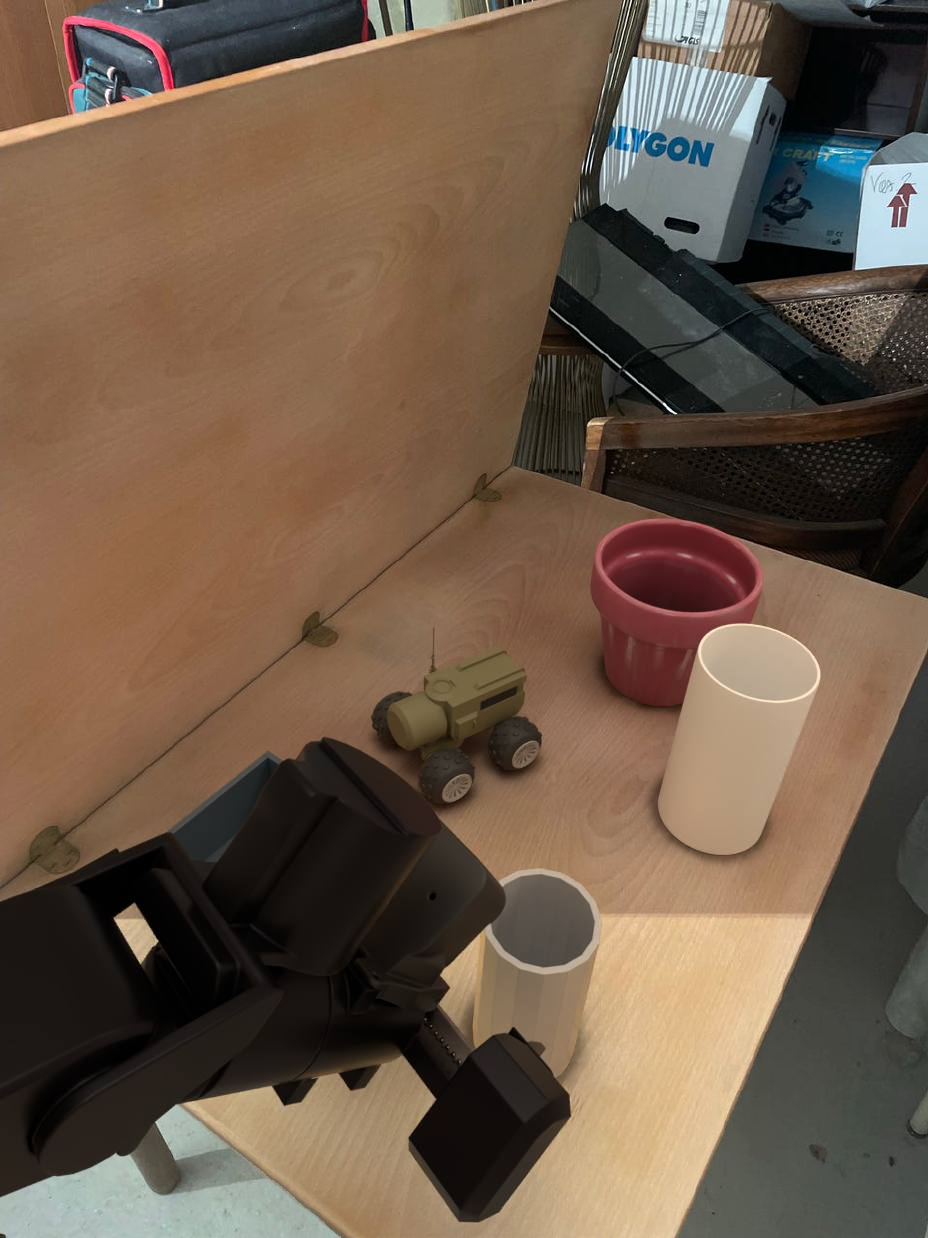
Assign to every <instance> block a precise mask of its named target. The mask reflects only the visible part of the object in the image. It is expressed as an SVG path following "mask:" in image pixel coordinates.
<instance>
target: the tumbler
mask: <svg viewBox="0 0 928 1238" xmlns="http://www.w3.org/2000/svg"><path fill="white" fill-rule="evenodd" d="M498 882H499V883H500V884H501V886H502V887H503V889H504V891H505V895H506V903H505V907H504V909H503V911H502V913H501V914H500V915H499V917H498V918H497V919H496V920H495V921H494V922H493V923H491V924H489V925H488V926H487V927H486V928H485V929H484V930H483V931H482V932H481V933H480V934H479V944H478V956H477V966H476V967H477V968H476V979H475V980H476V981H475V991H474V1004H473V1005H474V1006H473V1017H472V1028H471V1029H472V1039H473V1040H472V1041H473V1047H474V1048H475V1049H476V1048H478V1047H479V1046H480V1045H481V1044H482V1043H484V1042H485V1041H486V1040H487V1039H489V1038H490V1037H491V1036H492V1035H495V1034H500V1033H507V1034H508V1033H509V1031H510V1030H511V1028H512V1027H515V1028H516V1029H517V1031H518V1032H519V1033H520V1034H521V1035H522V1036H523V1037H524V1039H525V1040H526V1041H527V1042H529V1041H535V1042H541V1043H542V1044H543V1045H544V1046H545V1048H546V1049H545V1051H544V1052H543V1053H542V1055H541V1056H540V1057H541V1058H542V1059H543V1061H544V1062H545V1063H546V1064H547V1065H548V1066H549V1068H550V1069H551V1070H552V1072H553V1074H554V1077H555V1078H556V1079H558V1078H559V1076H561V1074H563V1073H564V1071H565V1070H566V1069H567V1068H568V1066H569V1064H570V1063H571V1060H572V1057H573V1055H574V1053H575V1048H576V1046H577V1045H576V1044H577V1040H578V1035H579V1032H580V1027H581V1023H582V1020H583V1015H584V1010H585V1006H586V1002H587V998H588V994H589V988H590V985H591V982H592V981H591V980H592V976H593V972H594V967H595V964H596V959H597V955H598V952H599V951H598V950H599V946H600V941H601V935H602V926H603V920H602V917H601V913H600V910H599V907H598V904H597V902H596V899H594V898H593V896H592V895H591V894H590V893H589V891H588V890H587V889H586V888H585V886H584V885H583V884H581V883H580V882H578V881H577V880H575V879H573V878H572V877H570V876H568V875H567V874H566V873H564V872H560V871H556V870H551V869H547V868H542V867H536V868H528V869H520V870H516V871H514V872H513V873H511V874H509V875H507V876H505V877H503V878H500V879H499V880H498Z"/></svg>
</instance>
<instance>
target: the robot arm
mask: <svg viewBox="0 0 928 1238" xmlns="http://www.w3.org/2000/svg"><path fill="white" fill-rule="evenodd" d="M505 903H506V895H505V891H504V889H503V887H502V886H501V884H500V883H499V880H498V879H497V878H496V877H495V876H494V875H493V873H491V871H490V870H489V869H488V868H487V867H486V866H485V864H484V863H483V862H482V861H481V859H480V858H479V857H478V856H477V855H476V854H474V852H473V851H472V850H470V849H469V847H467V846H466V844H465V843H464V842H463V841H462V840H460V838H459V837H458V836H457V835H456V834H455V833H454V832H453V831H452V830H451V829H450V828H449V827H448V826H447V825H446V824H445V823H444V822H443V821H442V820H441V819H440V818H439V816H438V814H437V813H436V811H435V809H434V808H433V807H432V805H430V803H429V802H428V801H427V800H426V798H425V797H424V796H422V794H421V793H419V791H418V790H417V789H416V788H415V787H414V786H413V785H411V784H410V783H409V782H407V781H406V779H404V778H403V777H402V776H400V775H399V774H398V773H397V772H395V771H394V770H392V768H390V767H389V766H386V765H385V764H383V763H382V762H381V761H379V760H378V759H376V758H375V757H373V756H371V755H369V754H367V753H366V752H364V751H362V750H360V749H358V748H357V747H354V746H352V745H350V744H348V743H345V742H343V741H340V740H338V739H335V738H331V737H327V736H323V737H321V739H320V740H313V741H309V742H307V743H306V744H304V746H303V748H302V749H301V751H300V752H299V753H298V755H297V756H296V758H295V759H294V758H290V757H288V758H285V759H284V760H283V761H282V762H281V763H280V764H279V765H278V767H277V768H276V770H275V771H274V773H273V774H272V776H271V777H270V779H269V780H268V782H267V783H266V785H265V786H264V788H263V790H262V791H261V794H260V796H259V798H258V800H257V803H256V805H255V807H254V808H253V810H252V812H251V813H250V815H249V816H248V818H247V819H246V821H245V822H244V824H243V825H242V827H241V828H240V830H239V831H238V833H237V834H236V835H235V837H234V838H233V840H232V841H231V843H230V844H229V846H228V847H227V849H226V850H225V852H224V853H223V854H222V856H221V857H220V859H219V860H218V862H204V861H192V859H191V858H190V856H189V855H188V853H187V852H186V851H185V849H184V848H183V846H182V845H181V843H180V842H179V840H178V839H177V838H176V836H175V835H174V834H173V833H171V832H167V831H166V832H164V833H162V834H158V835H157V836H154V837H152V838H149V839H148V840H146V841H143V842H140V843H138V844H136V845H132V846H131V847H128V848H127V849H124V850H121V851H120V850H119V849H118V847H115V848H113V849H111V850H109V851H108V852H106V853H104V854H103V855H101V856H99V857H97V858H96V859H94V860H93V861H91V862H89V863H87V864H85V865H83V866H81V867H80V868H77V870H75V871H72V872H71V873H68V874H66V875H63V876H60V877H58V878H56V879H53V880H52V881H49V882H47V883H44V884H43V885H40V886H38V887H36V888H33V889H31V890H28V891H25V892H22V893H19V894H16V895H13V896H10V897H6V898H5V899H2V900H0V1198H3V1197H5V1196H7V1195H10V1194H13V1193H15V1192H18V1191H20V1190H23V1189H25V1188H27V1187H31V1186H33V1185H35V1184H38V1183H41V1182H43V1181H45V1180H48V1179H50V1178H52V1177H65V1176H71V1175H75V1174H78V1173H80V1172H83V1171H86V1170H88V1169H91V1168H93V1167H96V1166H97V1165H98V1164H100V1163H103V1162H104V1161H106V1160H108V1159H109V1158H111V1157H113V1156H114V1155H115V1154H116V1156H118V1157H126V1156H130V1155H131V1154H132V1153H134V1152H135V1151H136V1149H137V1148H138V1147H139V1146H140V1144H141V1142H142V1141H143V1140H144V1138H145V1137H146V1135H147V1134H148V1132H149V1131H150V1130H151V1128H152V1127H153V1125H154V1124H155V1123H156V1122H157V1121H158V1120H159V1119H161V1118H162V1117H163V1116H165V1114H167V1113H168V1112H169V1111H170V1110H171V1109H173V1108H174V1107H175V1106H177V1105H183V1104H186V1103H192V1102H197V1101H202V1100H207V1099H212V1098H218V1097H222V1096H227V1095H233V1094H237V1093H244V1092H247V1091H248V1092H249V1091H253V1090H258V1089H264V1088H268V1087H271V1088H272V1089H273V1091H274V1092H275V1093H276V1095H277V1097H278V1099H279V1100H280V1102H281V1104H282V1105H283V1107H287V1106H291V1105H295V1104H299V1103H302V1102H303V1101H304V1100H305V1098H306V1097H307V1095H308V1093H310V1091H311V1090H312V1088H313V1087H314V1085H315V1084H316V1083H317V1081H318V1080H319V1078H320V1077H324V1076H330V1075H336V1074H338V1075H339V1077H340V1078H341V1080H342V1081H343V1083H344V1084H345V1085H346V1087H347V1088H348V1090H349V1091H350V1092H352V1091H357V1090H358V1091H359V1090H362V1089H365V1088H366V1087H368V1084H370V1082H371V1080H372V1079H373V1077H374V1076H375V1075H376V1073H378V1070H379V1069H380V1068H381V1066H382V1065H384V1064H389V1063H392V1062H393V1061H395V1060H397V1059H398V1058H400V1057H402V1056H403V1058H404V1059H405V1060H406V1062H407V1063H408V1065H409V1066H410V1067H411V1068H412V1070H413V1071H414V1072H415V1074H417V1076H418V1078H419V1079H420V1080H421V1082H422V1083H423V1084H424V1086H425V1088H427V1089H428V1091H429V1092H430V1094H431V1095H432V1096H433V1098H434V1099H435V1100H434V1102H433V1103H432V1105H431V1106H430V1107H429V1108H428V1109H427V1111H426V1112H425V1114H424V1115H423V1117H422V1118H421V1119H420V1121H419V1122H418V1123H417V1125H416V1126H415V1128H414V1129H413V1130H412V1132H411V1133H410V1134H409V1136H408V1137H407V1139H408V1140H407V1143H408V1145H407V1146H408V1147H407V1148H408V1152H409V1154H410V1155H411V1156H412V1157H413V1159H414V1160H415V1162H416V1163H417V1165H418V1167H419V1168H420V1170H421V1171H422V1172H423V1173H424V1174H425V1176H426V1178H427V1180H429V1182H430V1183H431V1185H432V1186H433V1187H434V1189H435V1190H436V1192H437V1193H438V1195H439V1196H440V1197H441V1199H442V1200H443V1201H444V1203H445V1205H446V1206H447V1207H448V1209H449V1210H450V1211H451V1213H452V1214H453V1216H454V1217H455V1219H456V1220H457V1221H458V1223H481V1222H483V1221H485V1220H487V1219H489V1218H491V1217H493V1216H495V1215H496V1214H499V1213H500V1212H501V1210H502V1209H503V1208H504V1207H505V1206H506V1204H507V1203H508V1201H509V1200H510V1199H511V1197H512V1196H513V1195H514V1193H515V1192H516V1190H517V1189H518V1188H519V1186H520V1185H521V1184H522V1183H523V1182H524V1180H525V1179H526V1177H527V1176H528V1174H529V1173H530V1172H531V1170H532V1169H533V1168H534V1167H535V1166H536V1164H537V1163H538V1161H539V1160H540V1159H541V1157H542V1156H543V1155H544V1153H545V1152H546V1150H548V1148H549V1147H550V1145H551V1144H552V1142H553V1141H554V1140H555V1138H556V1137H557V1136H558V1134H559V1133H560V1132H561V1131H562V1129H563V1128H564V1127H565V1126H566V1124H567V1123H568V1121H569V1120H570V1119H571V1118H572V1110H571V1109H572V1108H571V1097H570V1093H569V1092H568V1091H567V1090H566V1088H565V1087H564V1086H563V1085H562V1084H561V1083H560V1082H559V1080H557V1078H555V1077H554V1074H553V1072H552V1070H551V1069H550V1068H549V1066H548V1065H547V1064H546V1063H545V1062H544V1061H543V1059H542V1058H541V1057H540V1056H541V1055H542V1053H543V1052H544V1051H545V1049H546V1048H545V1046H544V1045H543V1044H542V1043H541V1042H535V1041H529V1042H527V1041H526V1040H525V1039H524V1037H523V1036H522V1035H521V1034H520V1033H519V1032H518V1031H517V1029H516V1028H515V1027H512V1028H511V1030H510V1031H509V1033H508V1034H507V1033H500V1034H495V1035H492V1036H491V1037H490V1038H489V1039H487V1040H486V1041H485V1042H484V1043H482V1044H481V1045H480V1046H479V1047H478V1048H476V1049H475V1046H474V1044H472V1043H471V1042H470V1040H469V1039H468V1038H467V1037H466V1036H465V1034H464V1033H463V1032H462V1031H461V1029H460V1028H459V1027H458V1026H457V1024H455V1022H454V1021H453V1020H452V1018H451V1017H450V1016H449V1015H448V1014H447V1012H446V1011H445V1009H443V1008H442V1006H441V1005H440V1003H441V1001H442V1000H443V999H444V997H446V994H447V993H448V992H449V990H450V989H451V986H450V985H449V984H448V983H447V981H446V980H445V979H444V978H443V976H442V973H443V972H444V970H445V969H446V968H447V967H449V966H450V965H451V964H453V962H454V961H455V960H456V959H457V958H458V957H459V956H460V955H461V954H462V953H463V952H464V951H465V950H466V949H467V948H468V947H469V946H470V945H471V944H472V942H474V940H475V939H476V938H477V937H478V936H480V933H481V932H482V931H483V930H484V929H485V928H486V927H487V926H488V925H489V924H491V923H493V922H494V921H495V920H496V919H497V918H498V917H499V915H500V914H501V913H502V911H503V909H504V907H505ZM134 904H135V906H136V908H137V910H138V911H139V913H140V914H141V916H142V918H143V919H144V921H145V923H146V924H147V925H148V927H149V928H150V930H151V932H152V934H153V935H154V938H155V939H156V940H157V943H155V945H153V946H151V947H150V950H149V951H148V952H147V954H146V956H145V957H144V958H143V960H142V961H141V962H140V961H139V959H138V957H137V956H136V954H135V952H134V950H133V949H132V947H131V946H130V944H129V942H128V940H127V938H126V936H125V935H124V934H123V931H122V930H121V928H120V927H119V925H118V923H117V921H116V919H115V918H116V917H117V916H119V915H120V914H121V913H123V912H124V911H125V910H127V909H128V908H129V907H131V906H133V905H134ZM0 1238H7V1236H6V1234H5V1233H1V1232H0Z"/></svg>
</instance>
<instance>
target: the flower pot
mask: <svg viewBox="0 0 928 1238" xmlns="http://www.w3.org/2000/svg"><path fill="white" fill-rule="evenodd" d="M763 586H764V573H763V569H762V567H761V563H760V562H759V560H758V559H757V557H756V556H755V555H754V553H753V552H752V551H751V550H750V549H749V548H748V547H747V546H746V545H744V544H743V543H742V542H740V541H739V540H738V539H736V538H735V537H733V536H732V535H729V534H728V533H725V532H723V531H721V530H719V529H716V528H715V527H713V526H710V525H707V524H703V523H700V522H695V521H691V520H685V519H678V518H649V519H642V520H637V521H632V522H629V523H625V524H623V525H621V526H618V527H616V528H615V529H613V530H612V531H610V532H609V533H607V534H606V535H605V536H604V537H603V538H602V539H601V540H600V541H599V543H598V545H597V546H596V549H595V553H594V559H593V564H592V570H591V577H590V597H591V599H592V602H593V605H594V606H595V608H596V609H597V611H598V612H599V619H600V621H599V622H600V631H601V642H602V651H603V659H604V669H605V673H606V676H607V679H608V680H609V682H610V683H611V685H612V686H613V687H614V688H615V689H616V690H617V691H618V692H619V693H620V694H622V695H623V696H625V697H626V698H628V699H631V700H632V701H634V702H637V703H640V704H643V705H648V706H652V707H673V706H679V705H681V704H682V705H683V702H684V698H685V695H686V691H687V687H688V683H689V679H690V676H691V672H692V668H693V664H694V661H695V657H696V653H697V649H698V647H699V644H700V642H701V640H702V639H703V637H704V636H705V635H706V634H707V633H709V632H710V631H712V630H714V629H716V628H718V627H721V626H725V625H730V624H752V622H753V619H754V617H755V614H756V611H757V607H758V605H759V601H760V598H761V594H762V591H763Z"/></svg>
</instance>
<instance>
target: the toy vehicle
mask: <svg viewBox="0 0 928 1238" xmlns="http://www.w3.org/2000/svg"><path fill="white" fill-rule="evenodd" d="M435 657H436V655H435V626H433V627H432V654H431V656H430V659H431V665H430V667H428V673H427V674H425V675H423V690H421V691H419V692H417V693H413V694H412V693H411V692H409V691H407V692H406V691H401V690H399V691H394V692H392V693H389V694H387V695H386V696H384V697H383V698H382V699H381V700H379V701H378V703H377V704H376V705H375V707H374V709H373V711H372V714H371V716H370V719H371V723H372V724H371V727H372V730H375V731H376V732H377V733H376V735H377V736H378V737H379V738H380V739H381V740H384V743H386V744H387V745H390V744H391V745H398V746H399V747H401V748H402V749H404V750H406V751H410V752H411V751H414V750H416V749H418V748H419V750H420V751H421V754H420V757H421V759H422V760H423V763H422V765H421V767H420V768H419V771H418V773H417V777H418V782H417V785H418V786H419V789H422V790H423V794H424V796H425V797H426V798H427V799H428V800H431V801H432V803H433V804H435V805H438V804H439V805H448V804H451V803H454V802H455V801H458V800H459V799H461V798H462V797H464V795H466V794H467V792H468V791H469V790H470V789H471V787H472V786H473V783H474V780H475V776H476V775H475V773H476V772H475V769H476V766H475V765H474V763H471V760H470V757H469V756H468V755H467V754H465V753H464V752H462V750H461V749H460V748H459V747H461V745H463V743H464V741H465V739H467V738H469V737H471V736H473V735H476V734H477V733H480V732H482V731H484V730H489V729H491V728H493V729H492V732H491V733H490V735H489V738H488V741H487V748H488V749H487V753H488V755H489V756H491V758H492V760H493V761H494V763H495V764H497V765H498V766H500V768H501V769H502V770H504V771H507V770H508V771H516V770H520V769H522V768H524V767H526V766H528V765H530V764H531V763H532V762H533V761H534V760H535V758H536V757H537V756H538V754H539V753H540V750H541V747H542V743H543V739H542V737H543V734H542V732H541V731H539V728H538V726H537V724H535V723H534V722H531V721H530V719H529V718H528V717H527V716H520V715H518V713H519V712H520V711H521V709H522V707H523V706H524V704H525V697H526V691H525V690H524V684H525V683H526V682H527V681H528V674H527V673H526V669H525V668H524V667H523V666H522V665H520V664H517V663H516V662H515V661H514V660H513V659H511V658H510V656H508V655H507V650H505V648H503V646H498V645H495V646H492V647H491V648H488V649H486V650H483V651H481V652H478V653H476V654H474V655H473V654H472V655H471V656H469V657H466V658H464V659H461V660H459V661H456V662H454V663H451V664H449V665H447V666H444V667H442V668H439V669H438V668H437V666H435ZM440 738H441V739H440ZM438 739H439V740H438ZM435 740H437V741H435ZM433 741H435V742H433ZM432 742H433V743H432ZM430 743H432V744H430ZM427 744H430V745H428V746H427Z"/></svg>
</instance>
